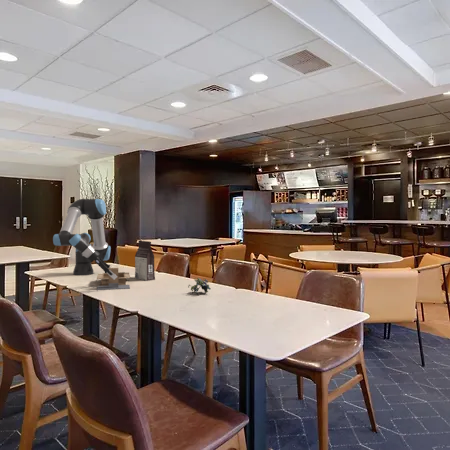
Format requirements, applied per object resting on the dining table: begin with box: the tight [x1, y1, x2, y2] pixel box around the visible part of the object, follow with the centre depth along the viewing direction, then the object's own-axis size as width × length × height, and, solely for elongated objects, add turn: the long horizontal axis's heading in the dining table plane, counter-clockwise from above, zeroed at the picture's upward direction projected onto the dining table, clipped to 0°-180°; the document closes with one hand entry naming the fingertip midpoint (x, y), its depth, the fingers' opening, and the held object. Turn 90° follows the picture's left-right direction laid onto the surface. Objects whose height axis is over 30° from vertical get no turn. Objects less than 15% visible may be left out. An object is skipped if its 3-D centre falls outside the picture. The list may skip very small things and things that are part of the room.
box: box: [109, 267, 119, 288], centre depth 240 cm, size 6×6×12 cm
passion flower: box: [187, 277, 211, 295], centre depth 225 cm, size 11×11×12 cm
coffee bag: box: [134, 240, 156, 282], centre depth 274 cm, size 16×9×28 cm, turn 46°
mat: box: [96, 284, 131, 291], centre depth 240 cm, size 11×20×1 cm, turn 107°
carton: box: [96, 271, 131, 286], centre depth 259 cm, size 26×22×5 cm
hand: (115, 276), depth 241 cm, fingers open, 13 cm apart
